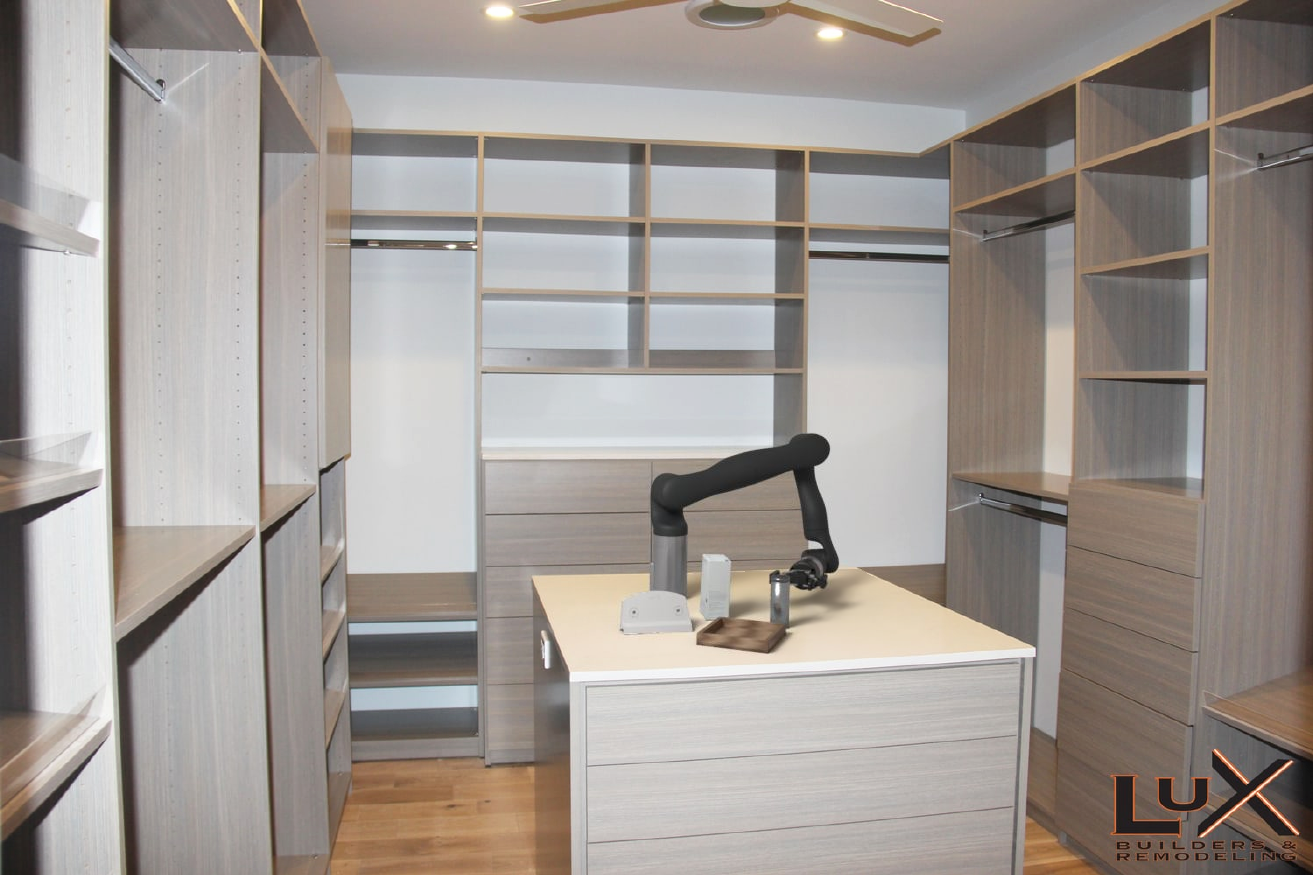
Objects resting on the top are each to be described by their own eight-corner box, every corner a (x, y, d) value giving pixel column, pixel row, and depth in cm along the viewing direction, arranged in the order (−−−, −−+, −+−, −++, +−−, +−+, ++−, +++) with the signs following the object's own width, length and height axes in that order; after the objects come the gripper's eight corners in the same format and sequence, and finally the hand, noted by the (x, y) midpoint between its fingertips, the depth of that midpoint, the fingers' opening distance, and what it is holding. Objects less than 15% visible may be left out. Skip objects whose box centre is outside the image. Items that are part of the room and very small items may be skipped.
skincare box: (699, 612, 226) (700, 553, 225) (722, 611, 227) (723, 553, 226) (706, 621, 218) (707, 560, 217) (730, 620, 219) (732, 559, 218)
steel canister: (767, 628, 212) (768, 577, 212) (772, 623, 216) (773, 573, 216) (786, 630, 211) (787, 579, 210) (791, 625, 215) (792, 575, 214)
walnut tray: (696, 644, 198) (696, 633, 198) (719, 626, 213) (719, 616, 213) (767, 653, 192) (767, 641, 192) (785, 634, 207) (785, 623, 207)
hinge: (622, 635, 205) (620, 590, 208) (619, 636, 209) (617, 593, 212) (694, 631, 208) (691, 588, 211) (689, 633, 213) (686, 590, 216)
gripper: (780, 556, 241) (764, 567, 226) (833, 560, 236) (821, 572, 221) (780, 584, 241) (763, 597, 226) (833, 588, 236) (820, 602, 221)
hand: (792, 585), depth 223 cm, fingers open, 8 cm apart
